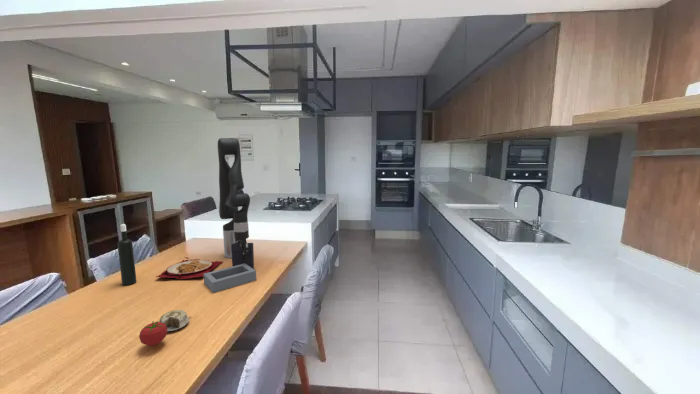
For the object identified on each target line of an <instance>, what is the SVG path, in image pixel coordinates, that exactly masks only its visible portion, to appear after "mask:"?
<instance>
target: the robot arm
mask: <svg viewBox="0 0 700 394" xmlns="http://www.w3.org/2000/svg"><path fill="white" fill-rule="evenodd" d="M217 155H218V167H219V168H218V184H219V185H218V186H219V203H218V204H219V207H218V208H219V209H218V214H219V218H220V219H221V220H230V219H231V220H230V221H228V222H227V223H225V224H223V225H222V236H223V250H224V251H223V252H224V253H223V255H224V257H225V258H228V259H232V252H231V245H232V244H233V243H237V244H239V246H240V248H241V251H242V253H243V261H247V260H248V259H247V254H249V243H250V242H247V239H248V238H249V237H250V234H249V232H250V231H249V229H250V228H249V222H248V221H249V220H248V213H249V207H250V205H251V204H250V203H251V197H250V195H249V194H248V193H245V192H244V193H237V192H239V191H242V190H243V189H244V187H245V183H244V178H243V173H242V159H241V145H240V142H239V140H238V139H237V138H235V137H232V138H230V137H227V138H226V137H219V138H218V140H217ZM226 156H234V159H233V162H232V165H231V166H230V165H229V162H227V161H228V160H227V159H226ZM227 200H228V202H229V203H227ZM239 207H241V208H240V209H239ZM243 248H244V249H243ZM247 250H248V251H247Z"/></svg>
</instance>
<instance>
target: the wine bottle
mask: <svg viewBox="0 0 700 394" xmlns="http://www.w3.org/2000/svg"><path fill="white" fill-rule="evenodd" d="M119 227H120V232H121V233H120V234H121V240H119V241H118V242H117V249H118V250H117V251H118V260H119V270H120V276H121V285H122V286H129V285H134V284H135V283H136V282H137V273H136V263H135V255H134V245H133V241H132V240H131V239H129V238H128V236H127V225H126V224H125V223H121V224H120V226H119Z"/></svg>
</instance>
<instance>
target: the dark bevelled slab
mask: <svg viewBox="0 0 700 394" xmlns="http://www.w3.org/2000/svg"><path fill="white" fill-rule="evenodd" d="M248 243H249V254H247V259H248V260H247V261H243V253H242V251H241V248H240V246H239V244H237V243H233V244H232V245H231V252H232V258H231V262H232V263H231V264H232V265H231V267H232V266H236V265H240V264H244V263H245V264H247V265H248V266H250V267H251V268H253V269H254V270H255V258H254V257H255V255H254V242H248ZM243 249H244V248H243ZM247 251H248V250H247Z"/></svg>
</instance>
